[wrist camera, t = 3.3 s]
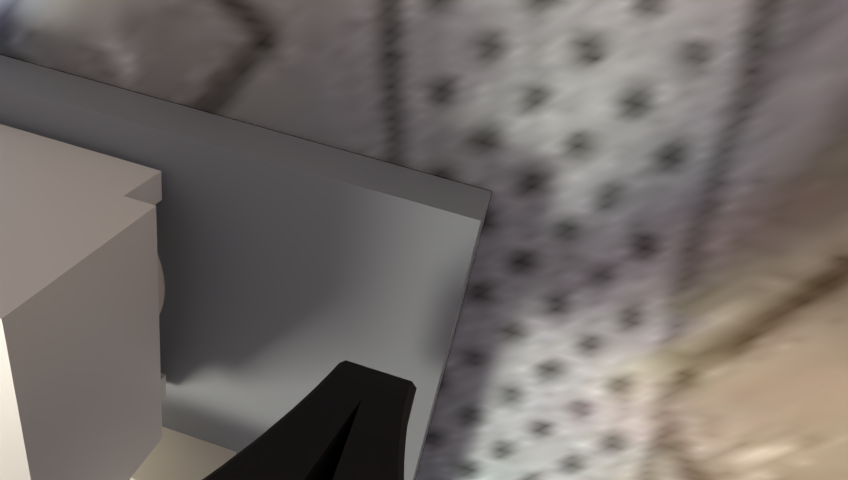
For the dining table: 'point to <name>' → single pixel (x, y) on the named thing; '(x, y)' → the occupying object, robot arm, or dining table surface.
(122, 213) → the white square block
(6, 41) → the dining table surface
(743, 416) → the dining table surface
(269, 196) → the board
